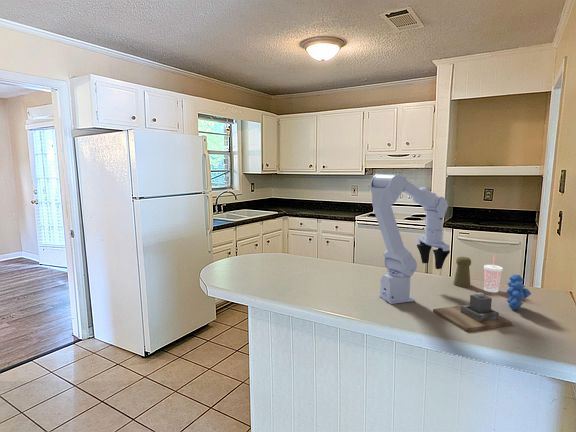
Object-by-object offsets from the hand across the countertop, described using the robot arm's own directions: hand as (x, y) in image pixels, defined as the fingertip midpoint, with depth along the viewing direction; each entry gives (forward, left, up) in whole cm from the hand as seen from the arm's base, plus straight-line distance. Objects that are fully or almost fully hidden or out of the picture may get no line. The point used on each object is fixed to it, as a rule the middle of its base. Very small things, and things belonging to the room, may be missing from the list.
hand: (431, 265), depth 130 cm
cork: (+16, +2, -10) cm, 19 cm away
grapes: (+15, -23, -10) cm, 29 cm away
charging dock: (-4, -24, -9) cm, 26 cm away
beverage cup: (+22, -6, -10) cm, 25 cm away
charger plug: (-2, -25, -8) cm, 26 cm away
